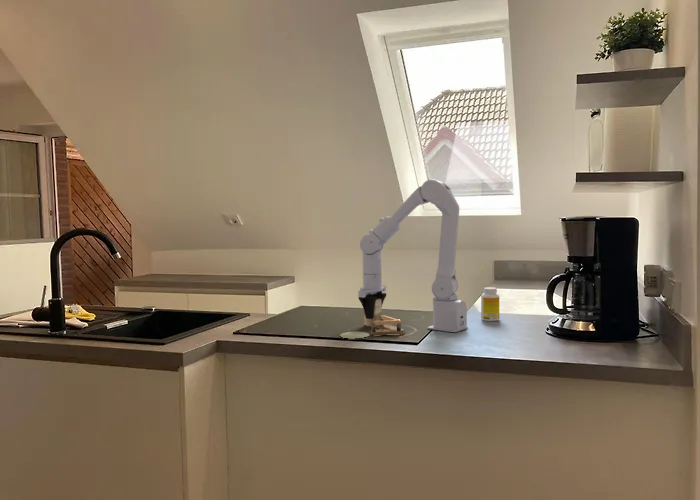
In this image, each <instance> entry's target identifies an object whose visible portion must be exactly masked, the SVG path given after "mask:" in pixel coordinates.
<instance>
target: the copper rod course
mask: <svg viewBox="0 0 700 500" xmlns="http://www.w3.org/2000/svg"><path fill="white" fill-rule="evenodd" d="M376 325H377V327H376ZM395 325H396V326H395ZM377 328H379V329H377ZM380 329H382V330H380ZM402 333H404V334H405V329H403V328H402V320H401V319H397V318H394V317H391V316H388V315H384V314H382V315H380V321H373V323H372V326H371V330H370V335H371V334H372V335H387V334H402ZM372 335H371V336H372ZM402 335H403V334H402Z"/></svg>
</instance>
